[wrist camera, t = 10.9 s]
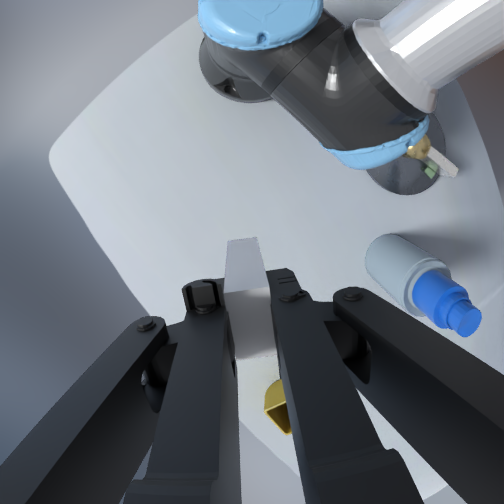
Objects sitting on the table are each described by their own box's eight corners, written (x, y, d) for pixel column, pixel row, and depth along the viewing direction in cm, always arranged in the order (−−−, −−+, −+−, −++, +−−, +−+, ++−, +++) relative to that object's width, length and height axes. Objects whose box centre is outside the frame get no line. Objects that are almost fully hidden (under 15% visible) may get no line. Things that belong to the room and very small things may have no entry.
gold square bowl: (299, 360, 60) (308, 390, 51) (317, 387, 62) (327, 417, 53) (259, 380, 61) (262, 411, 52) (280, 405, 63) (285, 436, 54)
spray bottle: (396, 223, 53) (489, 272, 29) (415, 263, 55) (500, 325, 31) (356, 252, 54) (432, 322, 30) (377, 290, 56) (450, 369, 32)
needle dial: (392, 149, 47) (406, 149, 43) (402, 127, 46) (416, 125, 42) (436, 181, 49) (451, 184, 45) (446, 160, 48) (461, 162, 44)
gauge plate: (346, 106, 47) (348, 104, 45) (428, 91, 46) (432, 90, 45) (372, 205, 52) (375, 206, 50) (449, 181, 51) (453, 182, 49)
